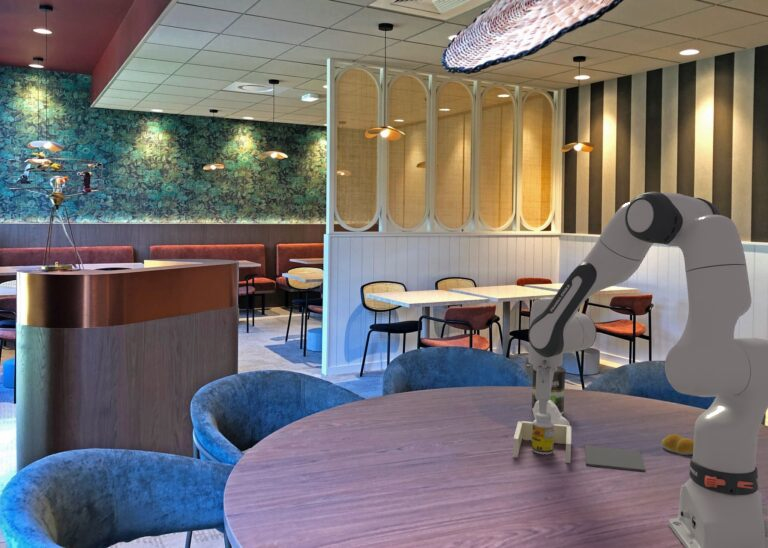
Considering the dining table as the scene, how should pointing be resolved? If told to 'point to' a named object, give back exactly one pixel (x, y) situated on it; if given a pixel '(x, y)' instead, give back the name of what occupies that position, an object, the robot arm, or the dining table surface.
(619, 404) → the dining table surface
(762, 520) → the robot arm
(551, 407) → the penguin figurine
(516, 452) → the beige u-shaped bracket
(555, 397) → the coffee can
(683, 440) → the bread roll
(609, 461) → the mat
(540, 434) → the supplement bottle
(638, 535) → the dining table surface
